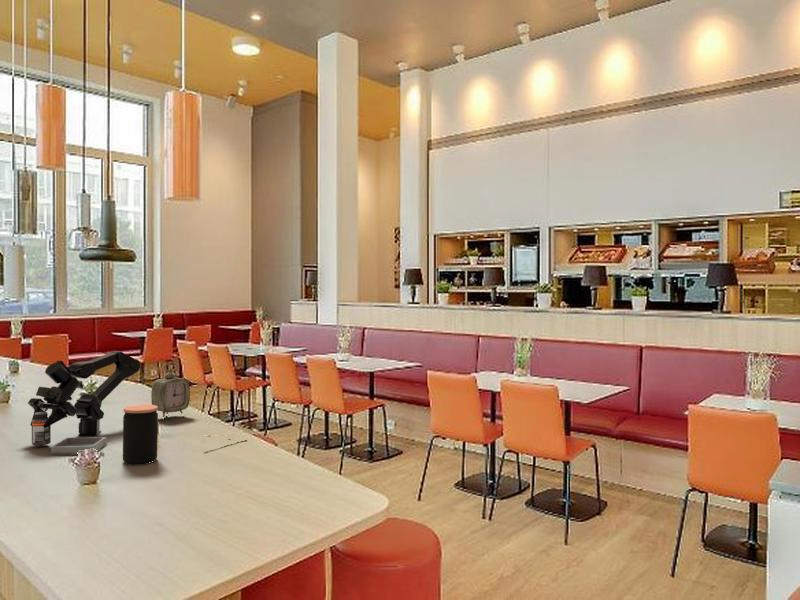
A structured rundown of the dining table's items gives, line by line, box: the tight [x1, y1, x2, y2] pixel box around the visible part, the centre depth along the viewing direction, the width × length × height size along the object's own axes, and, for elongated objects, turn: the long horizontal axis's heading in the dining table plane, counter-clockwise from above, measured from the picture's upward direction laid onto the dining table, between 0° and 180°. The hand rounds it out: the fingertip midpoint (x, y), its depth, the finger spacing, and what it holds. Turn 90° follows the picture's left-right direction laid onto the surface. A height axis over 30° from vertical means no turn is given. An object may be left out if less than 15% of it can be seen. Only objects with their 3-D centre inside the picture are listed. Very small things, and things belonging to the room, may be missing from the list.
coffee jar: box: [122, 404, 159, 465], centre depth 206 cm, size 11×11×18 cm
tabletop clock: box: [150, 361, 191, 417], centre depth 274 cm, size 14×9×25 cm, turn 148°
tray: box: [50, 436, 107, 456], centre depth 219 cm, size 14×14×3 cm
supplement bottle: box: [31, 411, 52, 447], centre depth 222 cm, size 6×6×11 cm
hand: (37, 426), depth 221 cm, fingers closed on supplement bottle, 6 cm apart
